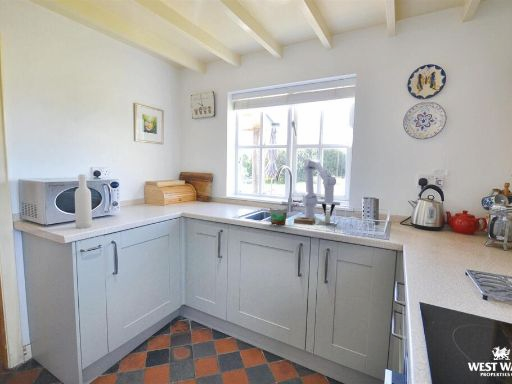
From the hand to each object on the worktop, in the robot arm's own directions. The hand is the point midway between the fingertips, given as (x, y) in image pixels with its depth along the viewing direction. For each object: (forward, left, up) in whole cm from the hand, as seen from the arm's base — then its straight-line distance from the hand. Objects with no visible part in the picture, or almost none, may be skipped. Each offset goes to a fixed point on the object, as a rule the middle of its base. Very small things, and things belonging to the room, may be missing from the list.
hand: (328, 215), depth 172 cm
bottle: (+75, -128, -6) cm, 148 cm away
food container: (+18, -30, -6) cm, 35 cm away
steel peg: (0, 0, -4) cm, 5 cm away
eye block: (+2, -15, -5) cm, 16 cm away
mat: (0, 0, -5) cm, 5 cm away
